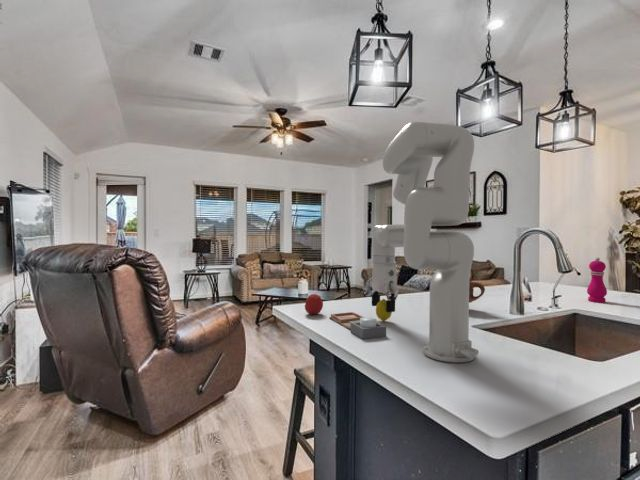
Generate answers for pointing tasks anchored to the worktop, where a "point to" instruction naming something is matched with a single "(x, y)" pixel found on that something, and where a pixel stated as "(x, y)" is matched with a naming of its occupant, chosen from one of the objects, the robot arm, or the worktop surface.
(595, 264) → the pepper mill
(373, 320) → the dome
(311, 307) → the tomato
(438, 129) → the robot arm
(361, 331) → the housing
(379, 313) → the lemon
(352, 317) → the board
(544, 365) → the worktop surface
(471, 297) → the brown mug
